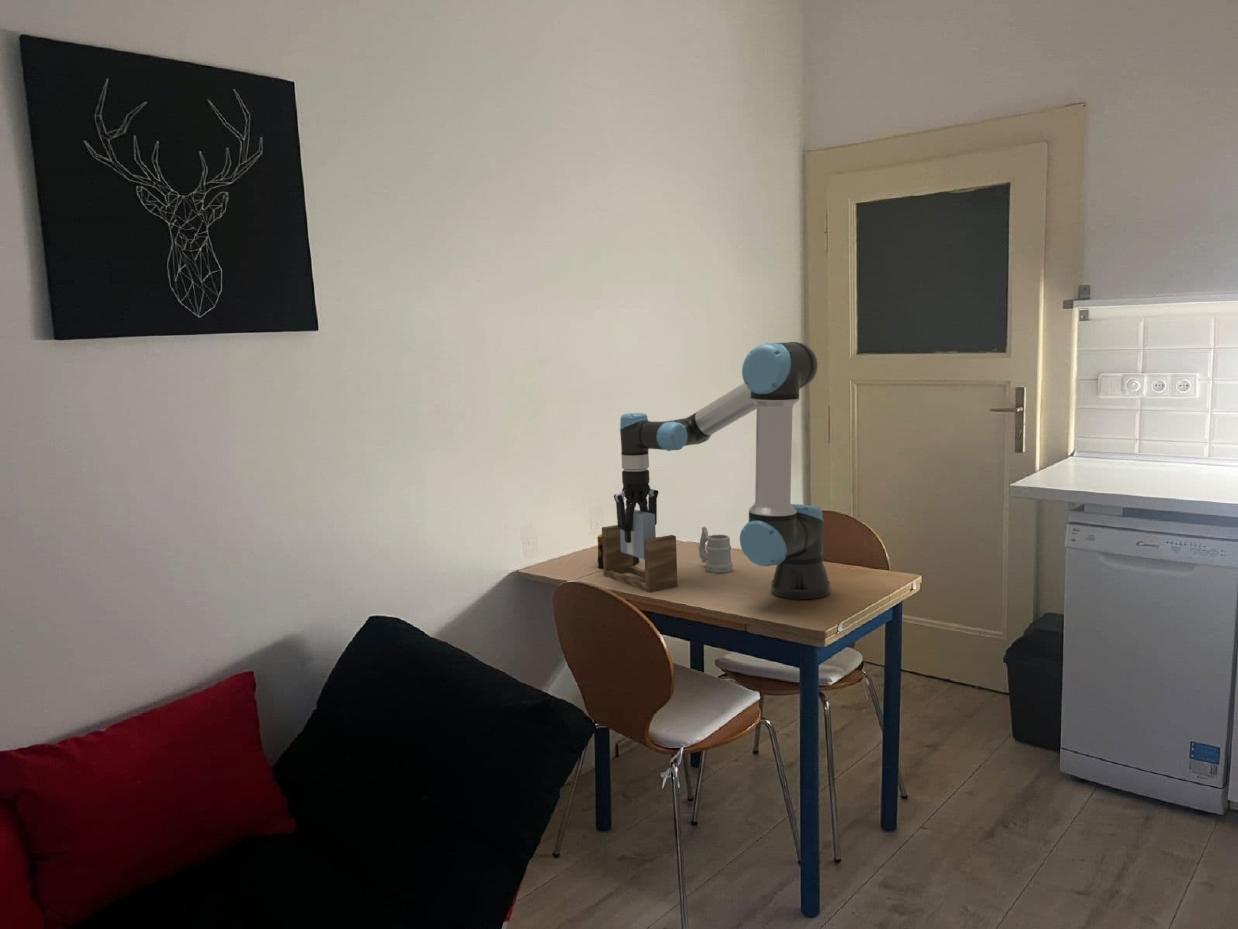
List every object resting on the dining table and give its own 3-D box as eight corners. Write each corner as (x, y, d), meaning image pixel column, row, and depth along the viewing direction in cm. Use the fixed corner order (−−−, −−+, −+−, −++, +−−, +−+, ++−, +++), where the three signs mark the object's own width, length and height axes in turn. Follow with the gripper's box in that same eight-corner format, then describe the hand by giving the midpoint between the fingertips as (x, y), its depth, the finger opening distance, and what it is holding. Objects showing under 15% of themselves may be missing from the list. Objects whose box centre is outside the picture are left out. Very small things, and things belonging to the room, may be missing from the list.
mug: (719, 575, 261) (718, 533, 259) (690, 568, 270) (689, 527, 268) (738, 570, 265) (737, 529, 264) (709, 563, 274) (708, 523, 273)
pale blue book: (656, 557, 253) (654, 514, 251) (644, 559, 251) (642, 516, 249) (632, 549, 263) (631, 508, 261) (620, 551, 261) (619, 510, 259)
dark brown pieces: (609, 561, 283) (607, 529, 281) (640, 562, 279) (639, 530, 278) (597, 569, 273) (595, 536, 272) (629, 570, 270) (628, 537, 268)
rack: (677, 586, 250) (675, 536, 248) (649, 592, 245) (648, 540, 243) (630, 570, 270) (628, 523, 268) (603, 575, 265) (601, 527, 264)
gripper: (653, 465, 261) (656, 545, 264) (601, 471, 252) (605, 554, 255) (668, 467, 255) (671, 550, 258) (616, 474, 246) (619, 559, 249)
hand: (638, 552), depth 257 cm, fingers closed on pale blue book, 4 cm apart
